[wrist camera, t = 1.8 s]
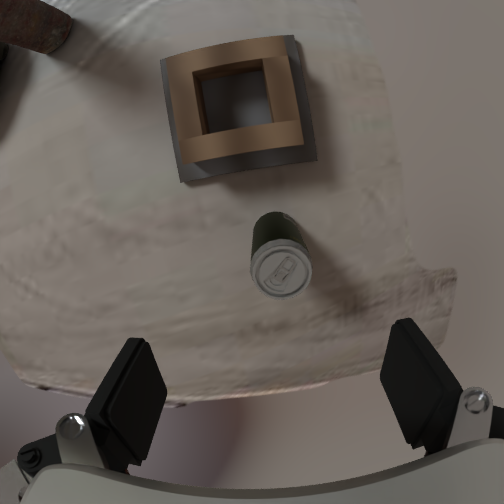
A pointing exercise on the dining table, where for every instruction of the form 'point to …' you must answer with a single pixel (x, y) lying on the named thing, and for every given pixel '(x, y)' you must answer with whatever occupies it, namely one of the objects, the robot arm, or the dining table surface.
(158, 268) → the dining table surface
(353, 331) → the dining table surface
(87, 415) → the robot arm
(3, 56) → the stone bowl
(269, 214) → the beer can
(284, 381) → the dining table surface
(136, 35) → the dining table surface
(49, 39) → the brown cylinder
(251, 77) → the well block
